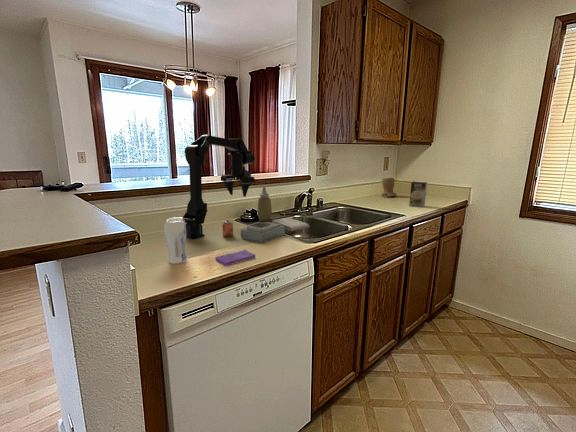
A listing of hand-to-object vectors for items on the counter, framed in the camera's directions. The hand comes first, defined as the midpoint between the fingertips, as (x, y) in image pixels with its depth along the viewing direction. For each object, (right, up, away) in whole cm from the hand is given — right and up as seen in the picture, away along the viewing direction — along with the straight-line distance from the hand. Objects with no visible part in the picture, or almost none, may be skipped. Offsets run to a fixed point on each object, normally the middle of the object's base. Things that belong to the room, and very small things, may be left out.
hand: (238, 195), depth 159 cm
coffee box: (+112, -4, +51) cm, 123 cm away
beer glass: (-13, -26, -49) cm, 57 cm away
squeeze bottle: (+13, -13, +11) cm, 21 cm away
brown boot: (+105, +5, +91) cm, 139 cm away
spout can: (-1, -19, -19) cm, 27 cm away
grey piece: (+15, -19, -18) cm, 30 cm away
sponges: (+7, -26, -46) cm, 54 cm away
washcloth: (+26, -16, -1) cm, 31 cm away
